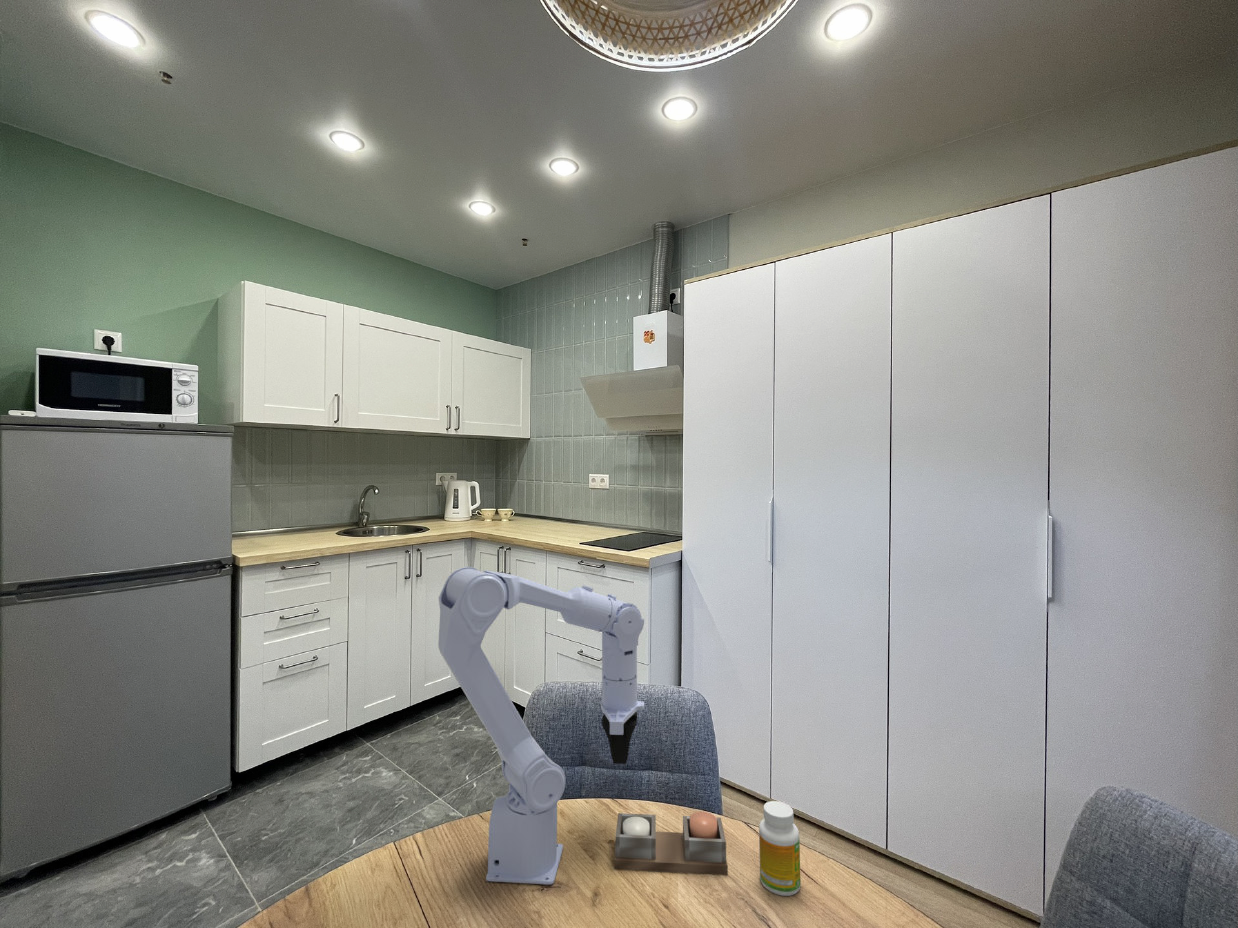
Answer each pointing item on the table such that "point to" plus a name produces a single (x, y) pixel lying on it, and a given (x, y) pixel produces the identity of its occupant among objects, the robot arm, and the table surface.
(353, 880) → the table surface
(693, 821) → the tan rounded dome
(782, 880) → the supplement bottle
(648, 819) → the panel
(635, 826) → the white plunger
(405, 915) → the table surface
